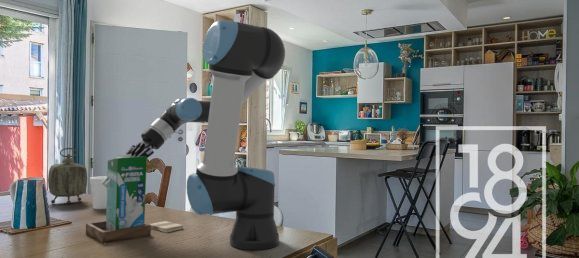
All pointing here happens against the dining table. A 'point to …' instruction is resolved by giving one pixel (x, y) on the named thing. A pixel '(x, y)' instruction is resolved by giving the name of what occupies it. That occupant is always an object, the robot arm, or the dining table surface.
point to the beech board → (166, 226)
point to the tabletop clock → (67, 178)
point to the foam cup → (98, 192)
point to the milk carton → (126, 192)
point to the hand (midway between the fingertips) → (106, 186)
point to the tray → (116, 232)
